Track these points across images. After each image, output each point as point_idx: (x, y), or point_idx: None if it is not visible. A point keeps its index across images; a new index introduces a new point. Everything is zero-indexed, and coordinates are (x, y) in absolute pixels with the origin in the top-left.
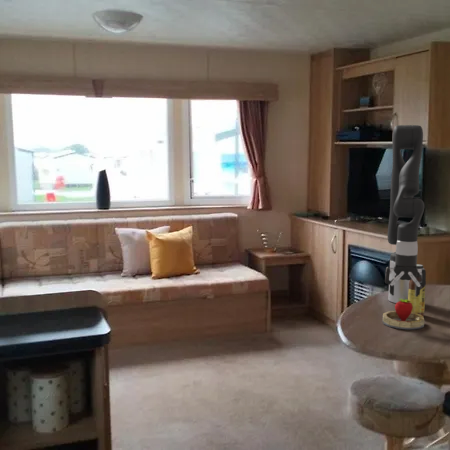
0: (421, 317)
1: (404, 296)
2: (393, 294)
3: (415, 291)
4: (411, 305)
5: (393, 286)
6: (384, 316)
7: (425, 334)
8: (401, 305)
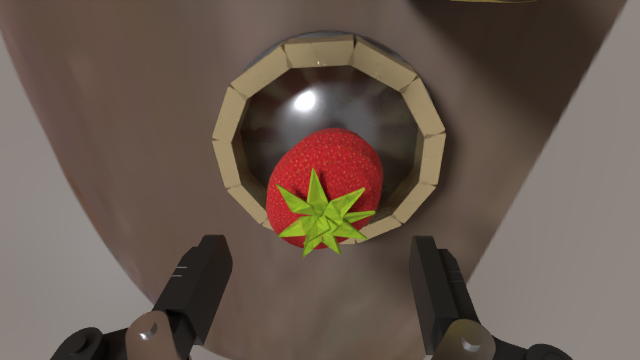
0: (428, 162)
1: (318, 236)
2: (228, 274)
3: (419, 269)
4: (371, 215)
5: (199, 341)
6: (228, 185)
7: (406, 252)
8: (303, 247)
